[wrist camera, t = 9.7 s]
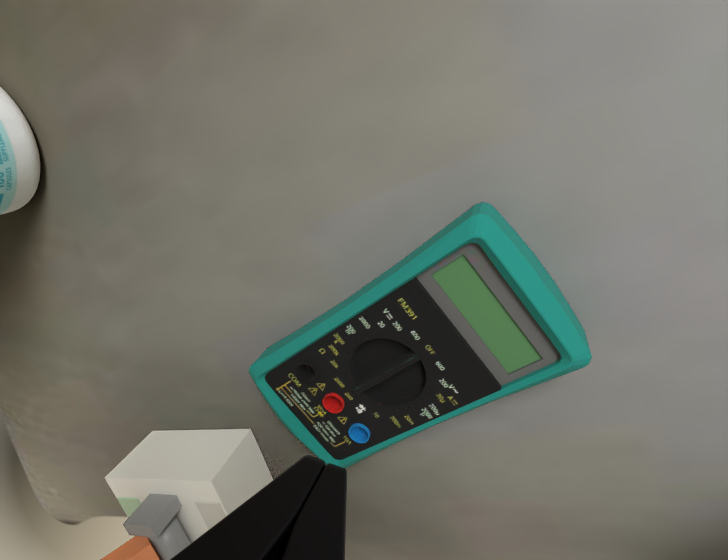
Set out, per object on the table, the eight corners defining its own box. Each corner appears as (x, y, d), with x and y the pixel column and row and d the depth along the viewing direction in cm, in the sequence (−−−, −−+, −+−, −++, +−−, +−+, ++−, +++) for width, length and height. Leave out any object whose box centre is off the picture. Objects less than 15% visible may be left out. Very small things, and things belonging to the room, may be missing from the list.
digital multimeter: (260, 350, 25) (231, 382, 22) (490, 190, 18) (486, 209, 15) (343, 445, 26) (324, 485, 23) (592, 329, 19) (605, 370, 16)
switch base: (250, 428, 27) (186, 514, 21) (298, 536, 29) (252, 635, 24) (152, 430, 30) (75, 506, 24) (204, 528, 32) (145, 615, 27)
